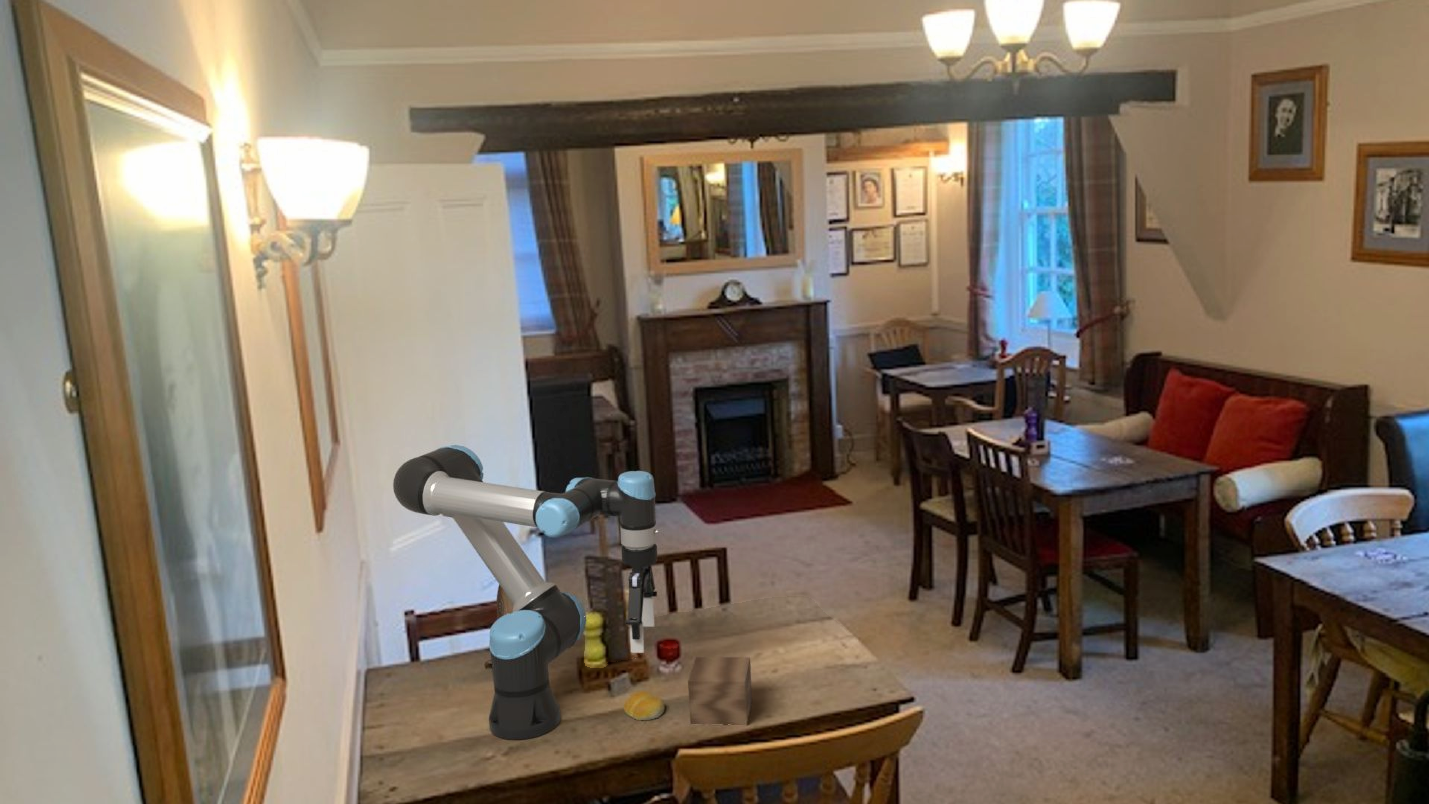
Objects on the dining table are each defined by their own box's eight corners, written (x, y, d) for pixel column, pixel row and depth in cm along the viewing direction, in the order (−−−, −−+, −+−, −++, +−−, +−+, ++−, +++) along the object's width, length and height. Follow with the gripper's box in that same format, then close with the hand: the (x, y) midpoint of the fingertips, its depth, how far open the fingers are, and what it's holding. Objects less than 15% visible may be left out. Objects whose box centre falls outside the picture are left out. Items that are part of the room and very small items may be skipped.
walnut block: (690, 725, 225) (688, 681, 223) (698, 699, 236) (695, 657, 234) (747, 726, 223) (744, 681, 221) (751, 699, 235) (750, 657, 233)
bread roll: (643, 726, 226) (641, 708, 225) (618, 712, 232) (617, 695, 232) (673, 712, 231) (672, 695, 230) (648, 699, 238) (647, 682, 237)
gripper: (646, 565, 212) (650, 664, 216) (665, 526, 237) (668, 616, 241) (609, 564, 213) (614, 663, 217) (632, 526, 237) (636, 615, 241)
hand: (643, 638), depth 229 cm, fingers open, 13 cm apart
